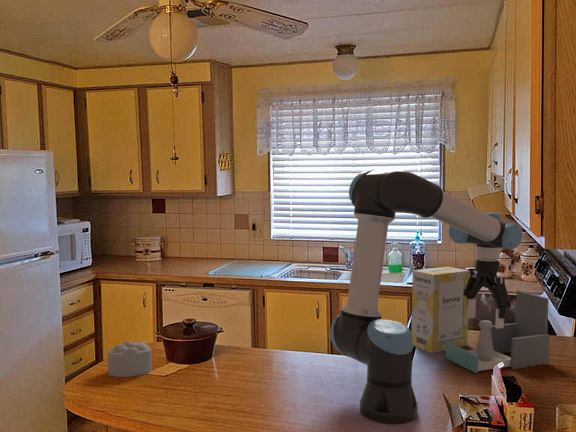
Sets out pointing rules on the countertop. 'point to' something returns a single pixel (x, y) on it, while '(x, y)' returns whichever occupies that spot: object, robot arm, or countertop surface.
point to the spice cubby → (525, 332)
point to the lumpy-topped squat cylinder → (129, 359)
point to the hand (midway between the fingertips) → (484, 322)
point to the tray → (474, 358)
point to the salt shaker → (485, 341)
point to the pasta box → (439, 308)
